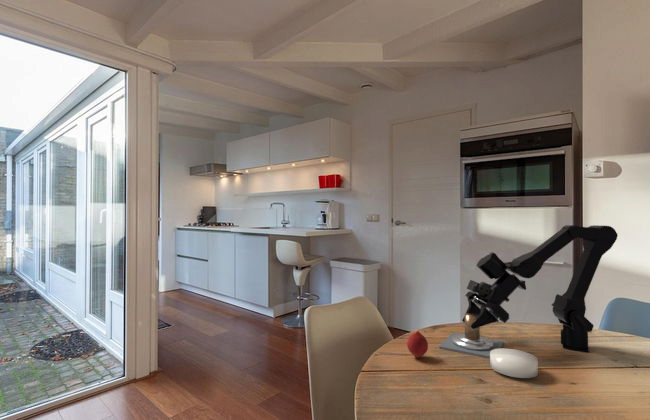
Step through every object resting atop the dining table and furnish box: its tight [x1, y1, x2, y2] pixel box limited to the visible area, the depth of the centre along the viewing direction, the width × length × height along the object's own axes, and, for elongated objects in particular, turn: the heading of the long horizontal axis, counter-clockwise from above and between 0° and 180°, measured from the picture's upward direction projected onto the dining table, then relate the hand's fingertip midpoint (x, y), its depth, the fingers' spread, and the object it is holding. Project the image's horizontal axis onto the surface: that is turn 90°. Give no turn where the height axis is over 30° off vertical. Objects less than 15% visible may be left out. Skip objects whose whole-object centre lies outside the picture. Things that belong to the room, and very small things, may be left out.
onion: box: [406, 329, 429, 359], centre depth 101 cm, size 6×6×8 cm
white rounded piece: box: [489, 347, 539, 379], centre depth 91 cm, size 11×11×4 cm
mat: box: [438, 332, 505, 359], centre depth 110 cm, size 16×16×1 cm
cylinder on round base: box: [452, 312, 493, 351], centre depth 110 cm, size 12×12×9 cm
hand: (467, 324), depth 110 cm, fingers open, 6 cm apart
